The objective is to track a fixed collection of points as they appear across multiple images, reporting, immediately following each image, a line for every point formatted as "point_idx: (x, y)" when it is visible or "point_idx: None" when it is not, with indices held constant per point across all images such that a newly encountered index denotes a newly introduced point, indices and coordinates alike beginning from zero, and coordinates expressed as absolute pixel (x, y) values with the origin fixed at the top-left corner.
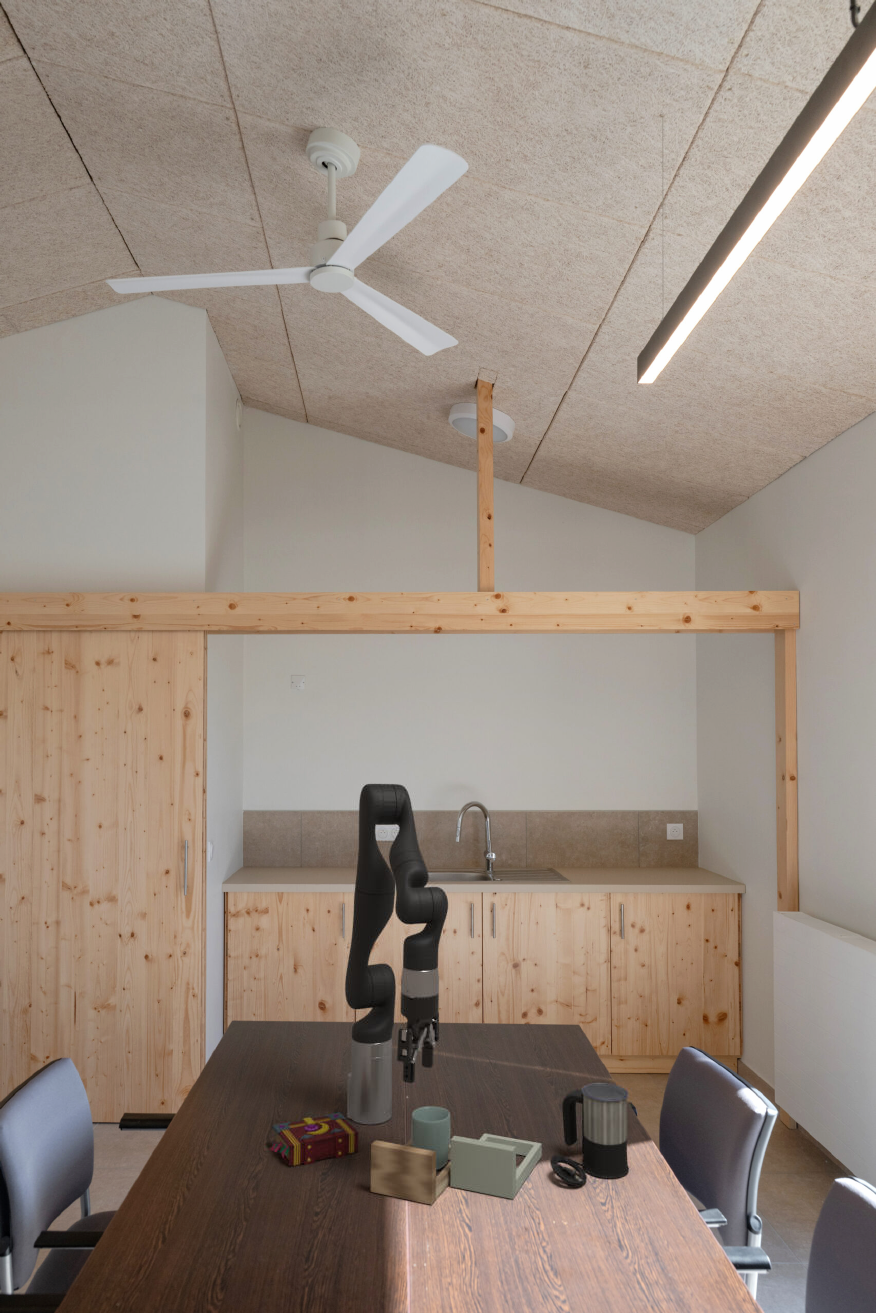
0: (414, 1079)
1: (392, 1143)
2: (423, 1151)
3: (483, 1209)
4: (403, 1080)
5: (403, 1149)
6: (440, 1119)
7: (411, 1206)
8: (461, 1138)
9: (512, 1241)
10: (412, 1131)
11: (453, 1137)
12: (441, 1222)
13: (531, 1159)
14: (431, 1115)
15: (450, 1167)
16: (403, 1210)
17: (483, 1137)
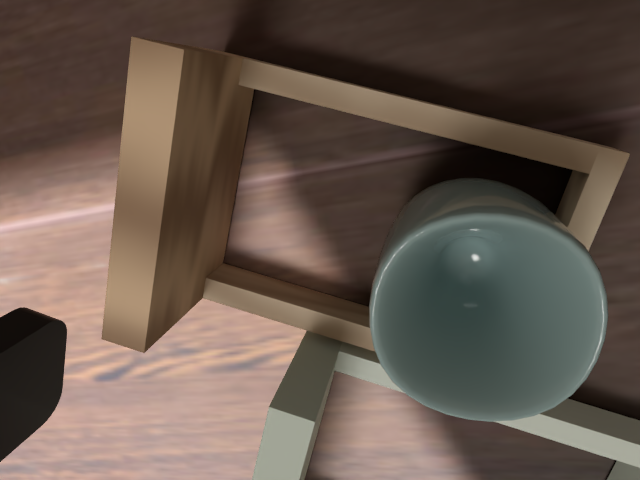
0: (32, 424)
1: (169, 148)
2: (131, 302)
3: (205, 410)
4: (24, 308)
5: (124, 212)
6: (538, 346)
7: None
8: (291, 449)
9: (83, 467)
10: (424, 204)
11: (293, 418)
12: None
13: None
14: (564, 303)
15: (344, 337)
16: None
17: (635, 452)
